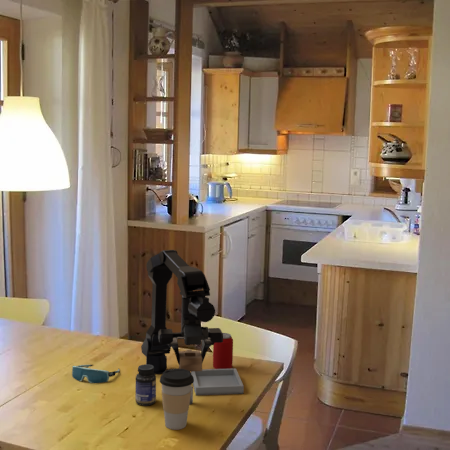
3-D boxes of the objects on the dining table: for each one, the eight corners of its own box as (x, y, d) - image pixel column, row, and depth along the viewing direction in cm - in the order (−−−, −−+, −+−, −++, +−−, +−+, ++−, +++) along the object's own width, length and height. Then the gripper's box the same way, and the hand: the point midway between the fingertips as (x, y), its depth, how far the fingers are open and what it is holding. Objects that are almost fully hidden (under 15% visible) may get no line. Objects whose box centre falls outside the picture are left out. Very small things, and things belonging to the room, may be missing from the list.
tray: (195, 395, 200) (195, 387, 200) (191, 376, 215) (191, 369, 214) (243, 393, 202) (243, 386, 202) (235, 375, 217) (235, 368, 216)
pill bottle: (156, 405, 192) (156, 370, 190) (135, 406, 191) (135, 371, 189) (155, 397, 198) (155, 362, 196) (135, 398, 197) (135, 363, 195)
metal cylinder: (186, 404, 193) (186, 388, 192) (185, 401, 195) (186, 386, 194) (193, 404, 193) (193, 388, 193) (192, 401, 195) (192, 385, 195)
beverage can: (233, 365, 226) (234, 332, 224) (231, 373, 219) (232, 339, 217) (213, 364, 226) (214, 331, 224) (211, 371, 220) (212, 337, 218)
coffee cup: (159, 417, 184) (160, 367, 182) (192, 417, 185) (193, 367, 183) (158, 433, 175) (159, 380, 172) (193, 432, 175) (194, 380, 173)
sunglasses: (64, 380, 209) (65, 365, 209) (87, 370, 224) (88, 356, 223) (104, 386, 205) (105, 371, 205) (124, 376, 220) (125, 361, 219)
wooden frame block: (180, 371, 189) (180, 358, 188) (178, 362, 196) (178, 349, 196) (202, 371, 190) (202, 358, 189) (199, 361, 197) (199, 349, 197)
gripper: (160, 321, 181) (160, 374, 183) (226, 320, 183) (225, 372, 186) (158, 310, 192) (158, 360, 194) (221, 309, 194) (219, 359, 197)
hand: (190, 363), depth 192 cm, fingers closed on wooden frame block, 6 cm apart
